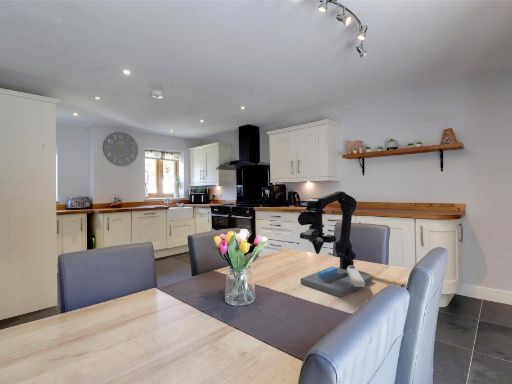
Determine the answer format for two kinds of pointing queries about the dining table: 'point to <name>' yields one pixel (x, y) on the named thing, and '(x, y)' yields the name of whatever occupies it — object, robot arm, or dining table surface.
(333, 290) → the board
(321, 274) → the blue bar
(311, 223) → the robot arm
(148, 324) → the dining table surface
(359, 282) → the bar
